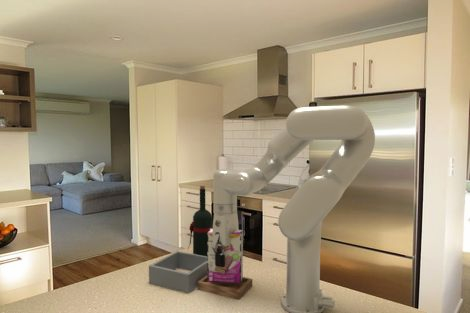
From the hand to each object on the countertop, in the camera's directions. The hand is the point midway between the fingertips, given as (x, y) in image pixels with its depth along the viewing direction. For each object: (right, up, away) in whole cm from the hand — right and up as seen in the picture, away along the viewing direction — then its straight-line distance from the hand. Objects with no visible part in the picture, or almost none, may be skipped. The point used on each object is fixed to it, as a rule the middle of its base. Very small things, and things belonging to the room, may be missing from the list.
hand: (225, 262), depth 109 cm
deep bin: (-15, -8, +8) cm, 19 cm away
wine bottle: (-11, -7, +23) cm, 26 cm away
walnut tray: (0, -9, +1) cm, 9 cm away
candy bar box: (0, -6, 0) cm, 6 cm away
